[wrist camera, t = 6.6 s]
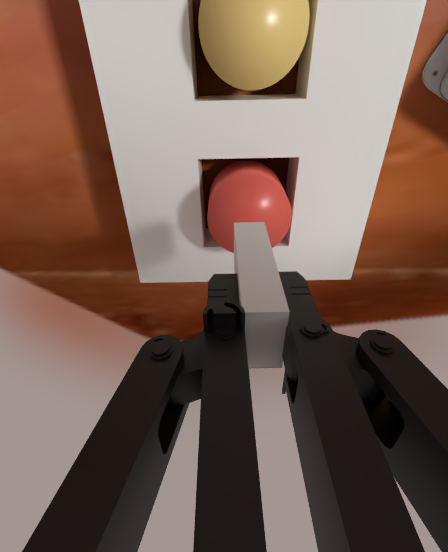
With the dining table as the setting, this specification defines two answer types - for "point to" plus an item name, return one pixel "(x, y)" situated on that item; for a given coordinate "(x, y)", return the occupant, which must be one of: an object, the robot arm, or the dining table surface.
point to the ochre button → (253, 39)
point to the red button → (247, 202)
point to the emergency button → (438, 70)
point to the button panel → (249, 130)
